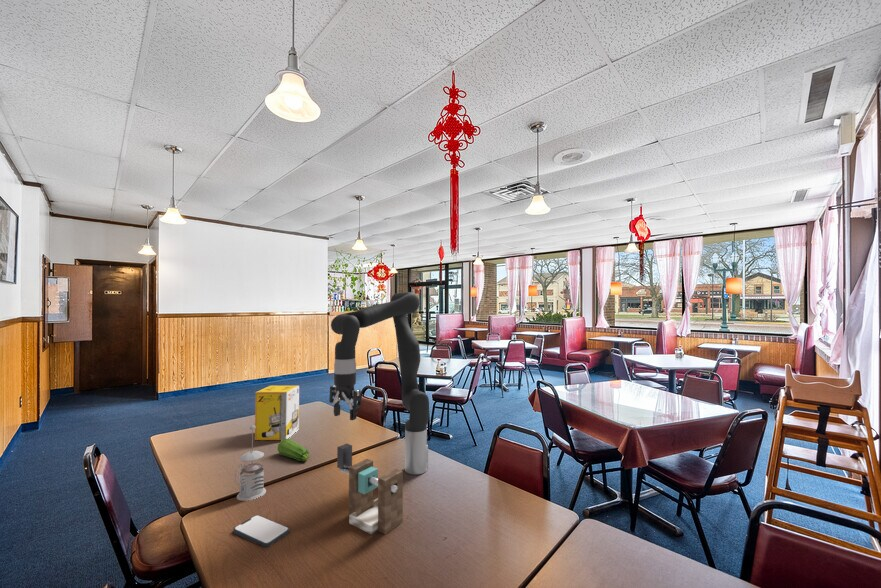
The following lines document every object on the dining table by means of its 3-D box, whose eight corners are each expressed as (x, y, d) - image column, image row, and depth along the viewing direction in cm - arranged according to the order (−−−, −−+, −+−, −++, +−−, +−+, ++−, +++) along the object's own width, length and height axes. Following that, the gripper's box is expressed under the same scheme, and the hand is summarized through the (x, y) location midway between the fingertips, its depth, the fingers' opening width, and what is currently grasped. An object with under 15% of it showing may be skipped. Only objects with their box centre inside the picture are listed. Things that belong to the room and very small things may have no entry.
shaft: (337, 473, 126) (337, 447, 127) (346, 469, 130) (346, 443, 130) (390, 495, 112) (390, 465, 112) (399, 489, 115) (399, 460, 115)
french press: (272, 489, 137) (273, 422, 138) (246, 505, 126) (247, 432, 127) (252, 485, 140) (253, 420, 141) (225, 500, 129) (226, 429, 130)
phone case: (291, 533, 112) (257, 518, 119) (291, 528, 112) (257, 513, 119) (266, 550, 104) (231, 533, 111) (266, 545, 104) (231, 528, 111)
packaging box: (286, 441, 187) (286, 392, 187) (254, 441, 187) (255, 392, 188) (298, 430, 203) (299, 385, 204) (269, 430, 203) (270, 385, 204)
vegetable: (285, 433, 174) (311, 443, 162) (291, 445, 176) (317, 455, 165) (272, 445, 168) (297, 455, 157) (278, 456, 171) (304, 467, 159)
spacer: (358, 491, 119) (358, 473, 119) (371, 484, 123) (371, 466, 124) (364, 494, 117) (364, 475, 117) (377, 486, 122) (377, 468, 122)
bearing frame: (342, 519, 117) (343, 469, 118) (372, 502, 128) (372, 456, 129) (379, 538, 108) (379, 484, 108) (407, 518, 118) (407, 468, 119)
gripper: (366, 371, 127) (366, 418, 127) (340, 367, 136) (340, 411, 135) (350, 375, 121) (349, 424, 121) (323, 370, 130) (323, 416, 129)
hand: (344, 417), depth 128 cm, fingers open, 8 cm apart
